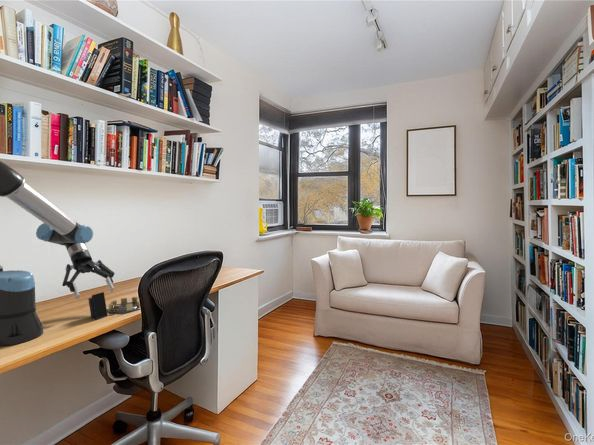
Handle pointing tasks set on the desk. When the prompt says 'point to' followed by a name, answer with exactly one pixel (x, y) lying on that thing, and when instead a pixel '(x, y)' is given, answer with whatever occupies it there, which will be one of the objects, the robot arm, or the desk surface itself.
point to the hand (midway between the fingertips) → (95, 293)
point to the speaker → (98, 306)
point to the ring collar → (124, 306)
